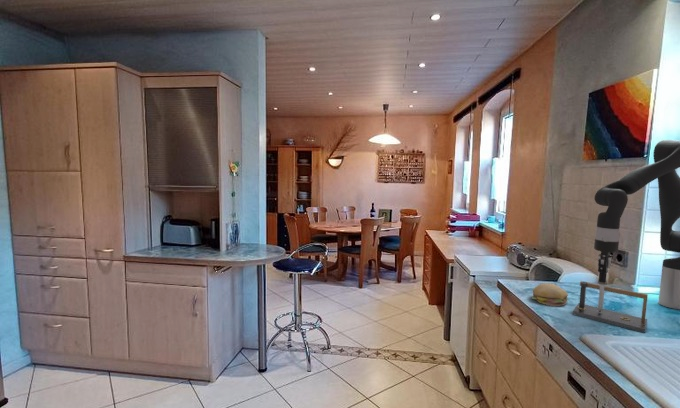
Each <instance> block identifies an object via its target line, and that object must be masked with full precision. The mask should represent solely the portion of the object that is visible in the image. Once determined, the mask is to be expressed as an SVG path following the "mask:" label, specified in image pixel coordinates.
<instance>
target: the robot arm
mask: <svg viewBox="0 0 680 408" xmlns="http://www.w3.org/2000/svg"><path fill="white" fill-rule="evenodd" d="M677 169H680V140H676V139H662V140H660V141H658V142H657V143H656V145H655V146H654V149H653V163H651V164H647V165H644V166H641V167H638V168H635V169H634V170H631V171H630V172H629V173H627V174H626V175H624V176H623V177H622V178H620V179H619V180H617V181H614V182H611V183H609V184H606V185H605V186H602V187H601V188H599V189H598V190H597V191H596V193H595V195H594V201H595V203H596V204H597V205H599V206H604V207H607V209H606V211H603V212H600V213H598V215H597V218H596V219H597V221H596V222H597V223H596V229H595V233H594V235H595V236H594V245H593V249H594V250H596V251H597V252H600V253H599V254H598V256H597V259H598V260H597V261H598V262H597V267H598V268H597V269H598V270H597V272H598V273H599V282H602V283H605V282H606V275H607V271H608V272H610V269H611V264H612V263H611V262H612V259H613V255H612V254H611V253H614V254H615V253H618V252H619V246H620V245H619V244H620V226H621V225H620V224H621V218H622V216H623V214H624V211H625V209H626V207H627V205H628V200H629V197H628V195H633V194H634V193H635V194H636V193H637V192H638V191H640V190H641V189H642V188H644V187H646V186H647V185H648V184H650V183H652V182H653V181H655V180H657V183H658V184H657V185H658V203H659V204H658V205H659V214H660V230H659V231H660V235H659V236H660V237H659V241H660V242H659V243H660V247H661V249H662V250H664V251H668V252H674V253H680V230H674V229H673V225H674V224H675V223H676V222H677V220H679V219H680V175H679V174H678V173H677V171H676V170H677ZM657 303H658V304H659V305H661V306H663V307H666V308H669V309H674V310H680V256H679V257H674V258H665V259H663V260H662V267H661V275H660V284H659V294H658V302H657Z"/></svg>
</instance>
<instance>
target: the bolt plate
mask: <svg viewBox="0 0 680 408" xmlns="http://www.w3.org/2000/svg"><path fill="white" fill-rule="evenodd" d="M579 286H580V294H579V303H577V305H576V306H575V307H574V308H573V310H572V315H574V316H578V317H581V318H585V319H589V320H593V321H598V322H601V323H604V324H608V325H612V326H616V327H621V328H625V329H628V330H632V331H634V332H635V331H636V332H639V333H643V334H645V333H646V329H647V328H646V327H647V323H648V319H647V318H646V313H647V304H648V296H649V293H643V292H638V291H633V290H627V289H622V288H618V287H617V288H616V287H612V286H609V285H607V286H606V287H605V290H604V292H610V293H614V294H619V295H624V296H629V297H633V298H639V299H643V301H642V308H641V309H642V311H641V317H640V316H635V315H630V314H627V313H622V312H618V311H613V310H609V309H605V308H603V311H602V312H599V311H598V306H597V307H596V306H593V305H588V304H586V303H585V302H586V296H587V295H586V294H587V288H589V289H594V290H595V289H596V290H598V291H600V286H599V284H598V283H593V282H587V281H582V280H580V282H579Z"/></svg>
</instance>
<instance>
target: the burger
mask: <svg viewBox="0 0 680 408" xmlns="http://www.w3.org/2000/svg"><path fill="white" fill-rule="evenodd" d="M568 297H569V294H568V293H567V291H566V290H565V289H563V288H561V286H559V285H557V284H554V283H550V282H549V283H548V282H545V283H543V282H542V283H540V284H538V285H537V286H535V287H534V288H533V289H532V296H531V298H530V299H532V300H535V301H536V302H538V303H540V304H543V305H545V304H546V305H545V306H549V307H550V306H551V307H562V306H565V305H566V304H567V302H568Z"/></svg>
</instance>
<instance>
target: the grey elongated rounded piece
mask: <svg viewBox="0 0 680 408" xmlns="http://www.w3.org/2000/svg"><path fill="white" fill-rule="evenodd" d="M597 275H598V277H597V284H598V285H599V286H600V290H598V291H599V293H598V304H597V307H598V311H599V312H602V311H603V309H604V299H605V291H604V290H605V287H606V286H609V285H608V284H609V275H610V271H607V275H606V282H605V283H602V282H599V272H598V274H597Z"/></svg>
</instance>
